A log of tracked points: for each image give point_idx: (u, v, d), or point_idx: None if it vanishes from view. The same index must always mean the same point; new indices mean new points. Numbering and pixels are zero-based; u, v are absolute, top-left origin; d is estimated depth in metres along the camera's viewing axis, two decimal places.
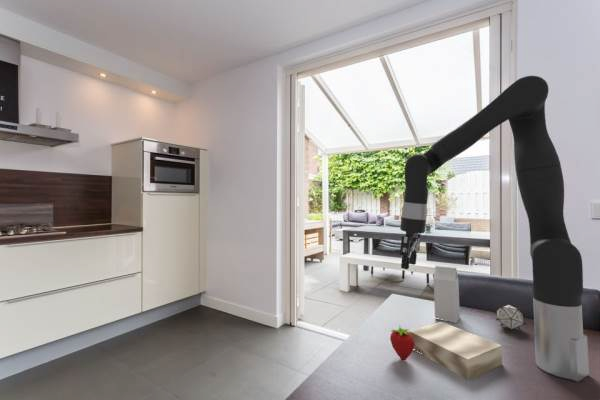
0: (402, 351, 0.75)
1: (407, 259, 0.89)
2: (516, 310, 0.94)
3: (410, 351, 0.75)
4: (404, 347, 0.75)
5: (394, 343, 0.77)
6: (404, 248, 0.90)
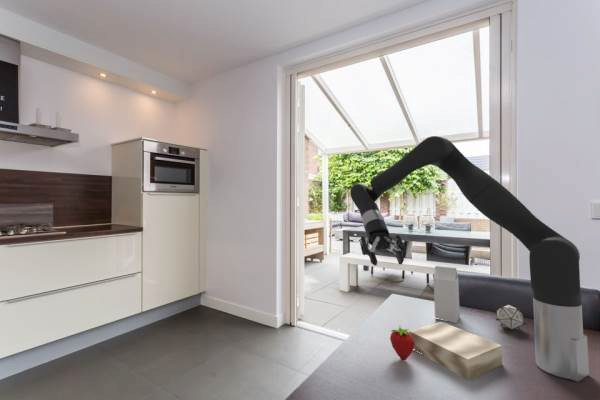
0: (402, 351, 0.75)
1: (371, 254, 0.92)
2: (516, 310, 0.94)
3: (410, 351, 0.75)
4: (404, 347, 0.75)
5: (394, 343, 0.77)
6: None
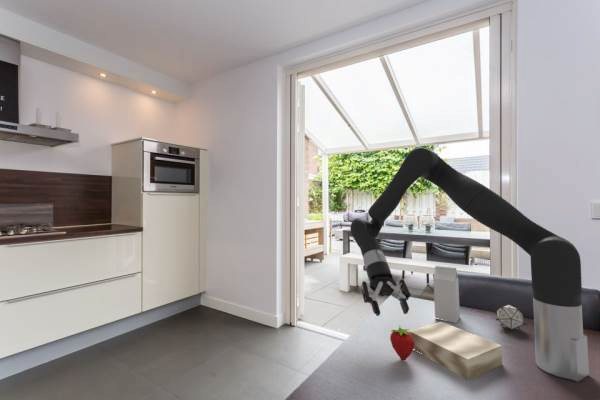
0: (402, 351, 0.75)
1: (373, 303, 0.86)
2: (516, 310, 0.94)
3: (410, 351, 0.75)
4: (404, 347, 0.75)
5: (394, 343, 0.77)
6: None
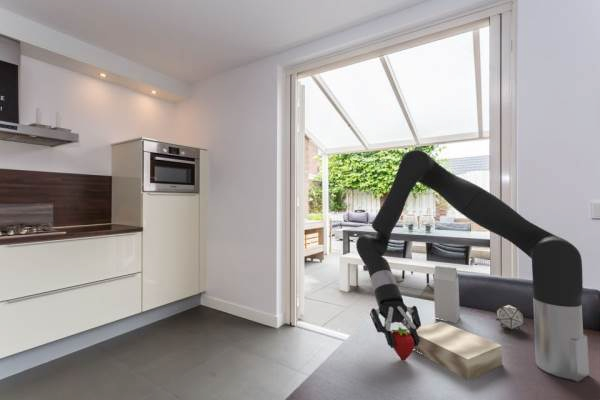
0: (402, 351, 0.75)
1: (387, 333, 0.78)
2: (516, 310, 0.94)
3: (410, 351, 0.75)
4: (404, 347, 0.75)
5: None
6: (384, 324, 0.81)
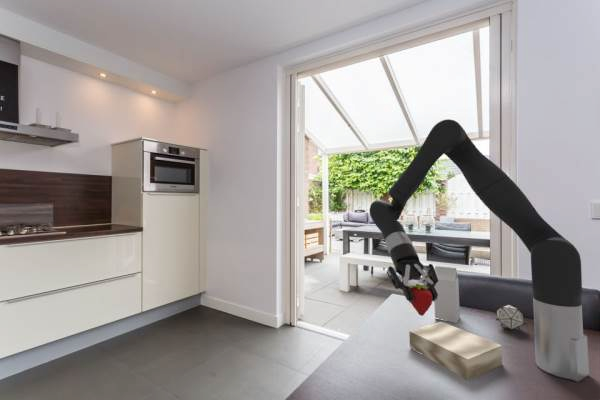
0: (421, 304, 0.76)
1: (406, 289, 0.79)
2: (516, 310, 0.94)
3: (429, 304, 0.76)
4: (423, 300, 0.75)
5: None
6: (402, 281, 0.82)
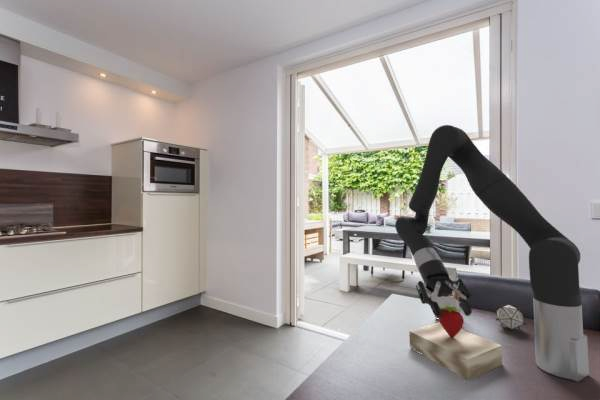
0: (453, 327, 0.77)
1: (433, 304, 0.80)
2: (516, 310, 0.94)
3: (460, 327, 0.77)
4: (454, 323, 0.77)
5: (444, 320, 0.79)
6: (430, 296, 0.83)
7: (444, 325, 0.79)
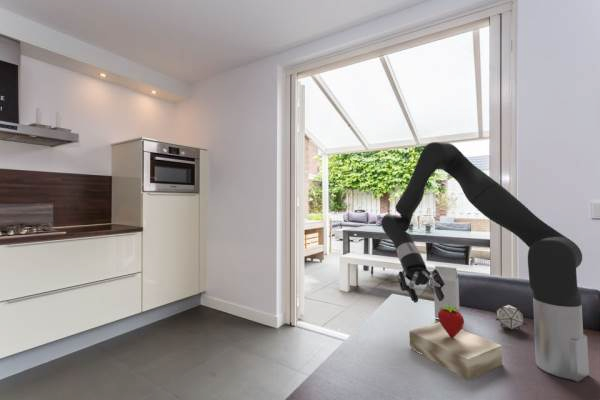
0: (453, 327, 0.77)
1: (411, 291, 0.93)
2: (516, 310, 0.94)
3: (460, 327, 0.77)
4: (455, 323, 0.77)
5: (444, 320, 0.79)
6: (409, 284, 0.96)
7: (444, 325, 0.79)
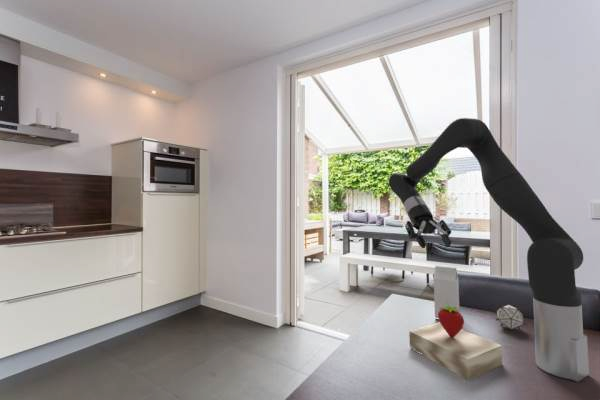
0: (453, 327, 0.77)
1: (419, 237, 0.95)
2: (516, 310, 0.94)
3: (460, 327, 0.77)
4: (455, 323, 0.77)
5: (444, 320, 0.79)
6: (416, 233, 0.99)
7: (444, 325, 0.79)
